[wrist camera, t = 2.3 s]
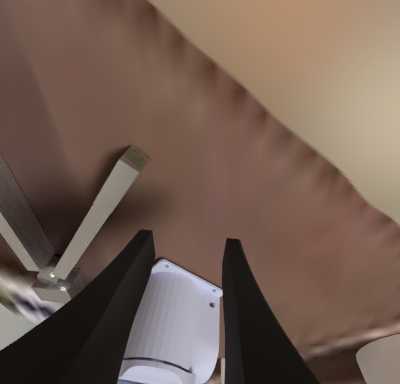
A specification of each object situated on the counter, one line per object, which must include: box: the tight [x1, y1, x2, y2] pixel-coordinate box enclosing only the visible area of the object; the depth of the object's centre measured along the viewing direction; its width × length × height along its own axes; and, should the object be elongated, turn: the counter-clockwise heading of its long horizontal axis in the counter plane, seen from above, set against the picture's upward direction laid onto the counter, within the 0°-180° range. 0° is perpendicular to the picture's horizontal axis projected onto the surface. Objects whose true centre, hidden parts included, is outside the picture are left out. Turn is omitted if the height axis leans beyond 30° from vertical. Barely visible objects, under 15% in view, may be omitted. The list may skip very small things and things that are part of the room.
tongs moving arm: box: [37, 146, 149, 285], centre depth 20 cm, size 21×3×2 cm, turn 143°
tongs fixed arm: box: [0, 153, 87, 303], centre depth 20 cm, size 24×4×3 cm, turn 178°
